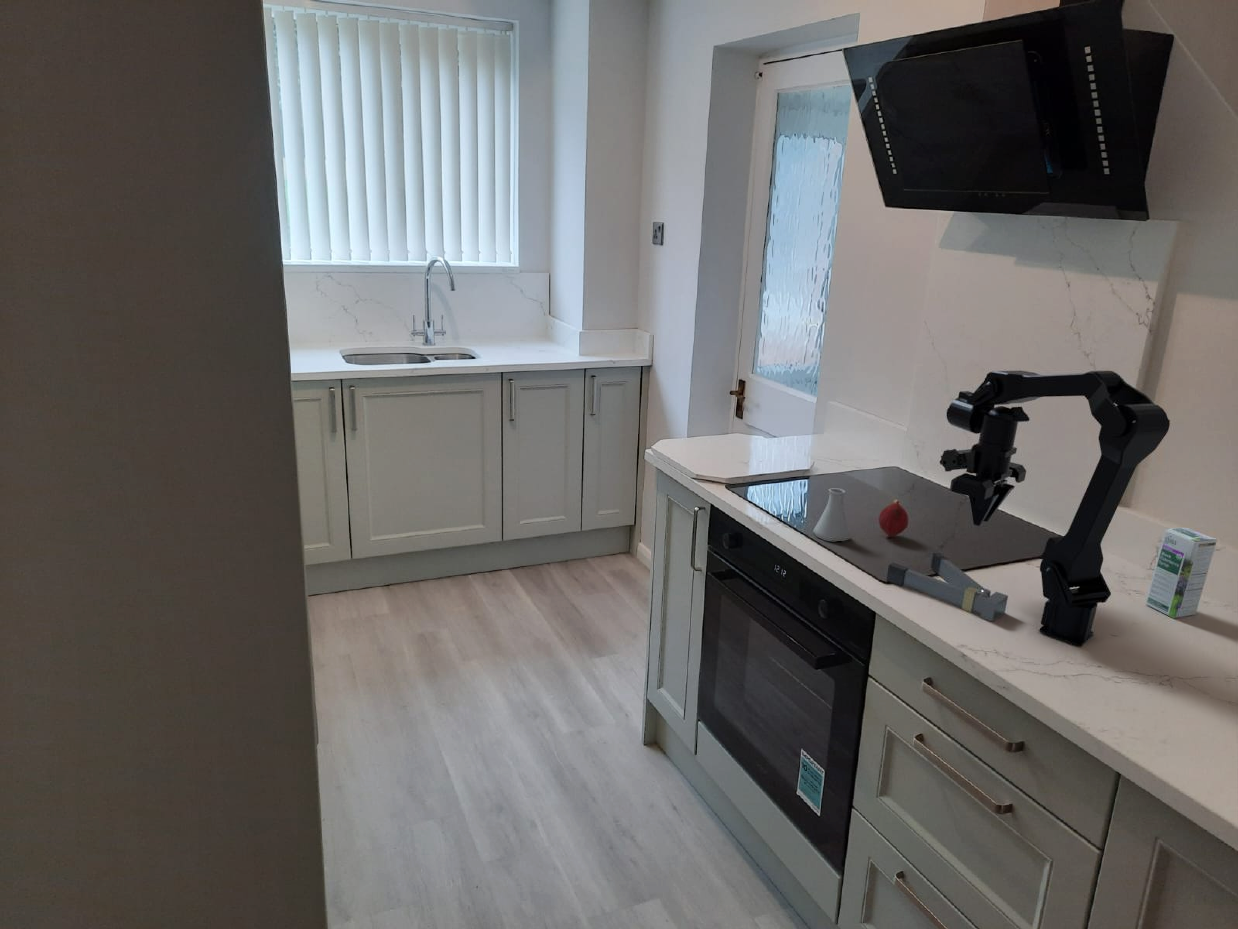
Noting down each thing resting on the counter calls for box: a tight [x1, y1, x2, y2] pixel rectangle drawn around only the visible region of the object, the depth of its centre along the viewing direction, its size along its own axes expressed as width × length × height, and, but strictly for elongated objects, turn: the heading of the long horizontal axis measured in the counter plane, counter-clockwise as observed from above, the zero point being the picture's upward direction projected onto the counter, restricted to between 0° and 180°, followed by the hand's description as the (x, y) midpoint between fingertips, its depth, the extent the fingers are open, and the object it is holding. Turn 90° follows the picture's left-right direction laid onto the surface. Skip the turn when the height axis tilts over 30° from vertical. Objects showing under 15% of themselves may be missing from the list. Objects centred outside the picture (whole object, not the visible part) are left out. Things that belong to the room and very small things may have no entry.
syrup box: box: [1145, 527, 1218, 619], centre depth 147 cm, size 6×6×14 cm
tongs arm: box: [930, 552, 992, 597], centre depth 153 cm, size 17×2×3 cm, turn 9°
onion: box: [878, 499, 909, 538], centre depth 175 cm, size 6×6×8 cm
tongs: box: [885, 562, 1009, 623], centre depth 149 cm, size 20×5×4 cm, turn 45°
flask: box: [812, 487, 851, 542], centre depth 174 cm, size 7×7×10 cm
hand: (980, 523), depth 155 cm, fingers open, 3 cm apart
